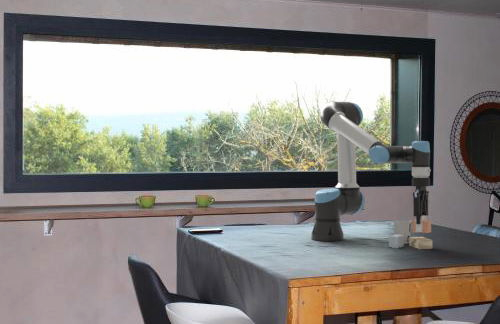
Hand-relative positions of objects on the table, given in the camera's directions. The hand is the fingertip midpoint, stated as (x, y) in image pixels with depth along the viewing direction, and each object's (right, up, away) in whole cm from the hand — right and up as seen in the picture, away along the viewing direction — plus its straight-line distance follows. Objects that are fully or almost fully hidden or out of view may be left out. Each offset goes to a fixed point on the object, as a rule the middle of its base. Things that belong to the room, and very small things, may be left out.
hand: (421, 230), depth 290 cm
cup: (-5, -7, +12) cm, 15 cm away
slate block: (-10, -7, +1) cm, 13 cm away
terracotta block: (0, 0, 0) cm, 1 cm away
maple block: (0, -7, 0) cm, 7 cm away
